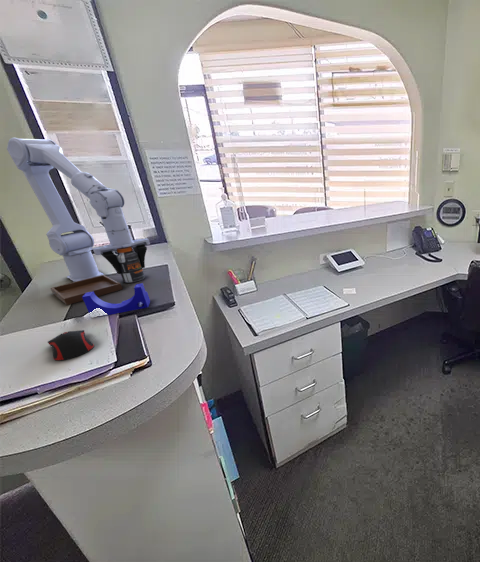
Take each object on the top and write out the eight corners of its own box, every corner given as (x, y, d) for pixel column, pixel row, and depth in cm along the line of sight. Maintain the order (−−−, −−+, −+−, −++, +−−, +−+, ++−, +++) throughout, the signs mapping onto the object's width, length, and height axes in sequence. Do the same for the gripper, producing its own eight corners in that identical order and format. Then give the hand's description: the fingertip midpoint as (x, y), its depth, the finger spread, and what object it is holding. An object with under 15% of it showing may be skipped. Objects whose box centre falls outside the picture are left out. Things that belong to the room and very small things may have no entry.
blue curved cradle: (150, 301, 87) (143, 281, 84) (147, 307, 83) (140, 286, 81) (96, 311, 82) (87, 290, 79) (91, 318, 78) (82, 296, 76)
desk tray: (53, 294, 94) (50, 287, 94) (106, 280, 104) (104, 274, 104) (66, 305, 86) (63, 298, 85) (122, 289, 96) (120, 283, 95)
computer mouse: (86, 333, 71) (79, 318, 69) (97, 349, 64) (89, 333, 63) (48, 345, 66) (40, 329, 65) (55, 364, 60) (47, 347, 58)
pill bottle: (133, 283, 100) (122, 249, 96) (119, 282, 102) (106, 249, 97) (149, 277, 106) (139, 245, 102) (135, 276, 107) (124, 244, 103)
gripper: (92, 236, 90) (108, 279, 95) (148, 226, 101) (160, 266, 106) (84, 233, 94) (101, 275, 99) (139, 224, 104) (151, 262, 110)
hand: (131, 270), depth 102 cm, fingers closed on pill bottle, 6 cm apart
